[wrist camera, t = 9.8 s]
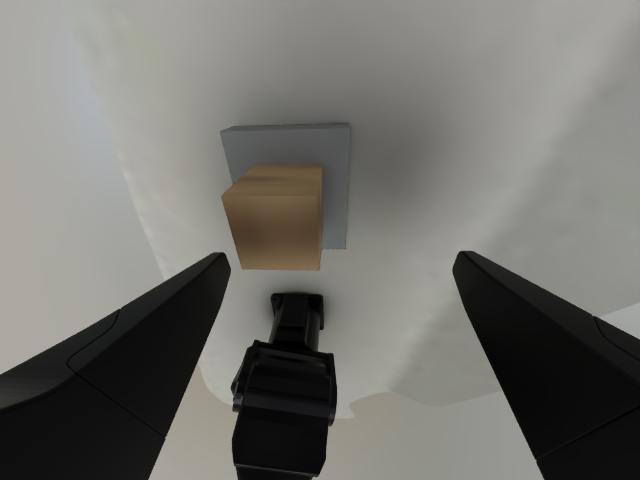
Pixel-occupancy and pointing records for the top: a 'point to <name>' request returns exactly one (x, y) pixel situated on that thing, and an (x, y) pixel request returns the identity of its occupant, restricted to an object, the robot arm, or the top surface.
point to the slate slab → (299, 162)
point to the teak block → (277, 216)
